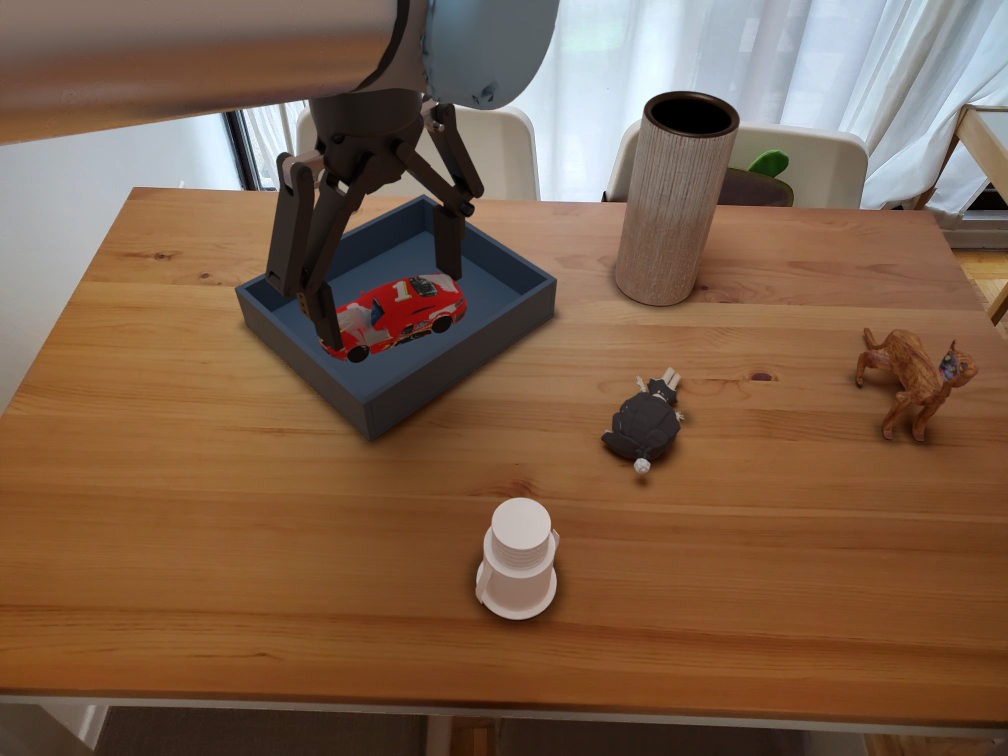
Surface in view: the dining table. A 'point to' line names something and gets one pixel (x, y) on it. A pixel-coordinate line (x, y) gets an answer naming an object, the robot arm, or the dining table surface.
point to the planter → (673, 194)
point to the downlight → (518, 561)
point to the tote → (421, 362)
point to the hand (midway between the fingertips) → (392, 305)
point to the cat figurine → (915, 375)
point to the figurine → (646, 422)
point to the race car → (397, 315)
